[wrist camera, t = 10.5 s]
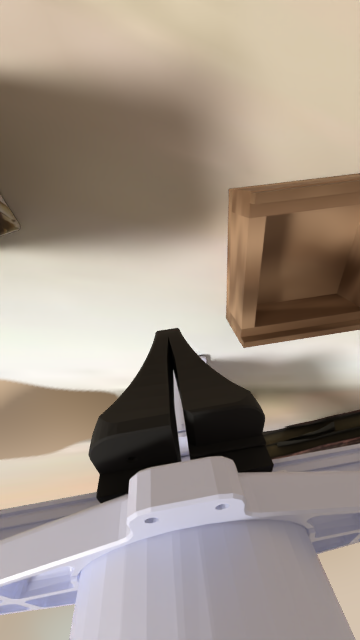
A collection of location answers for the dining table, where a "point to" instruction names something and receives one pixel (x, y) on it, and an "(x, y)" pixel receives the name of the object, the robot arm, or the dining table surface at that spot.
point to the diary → (314, 435)
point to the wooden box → (294, 259)
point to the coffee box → (7, 219)
